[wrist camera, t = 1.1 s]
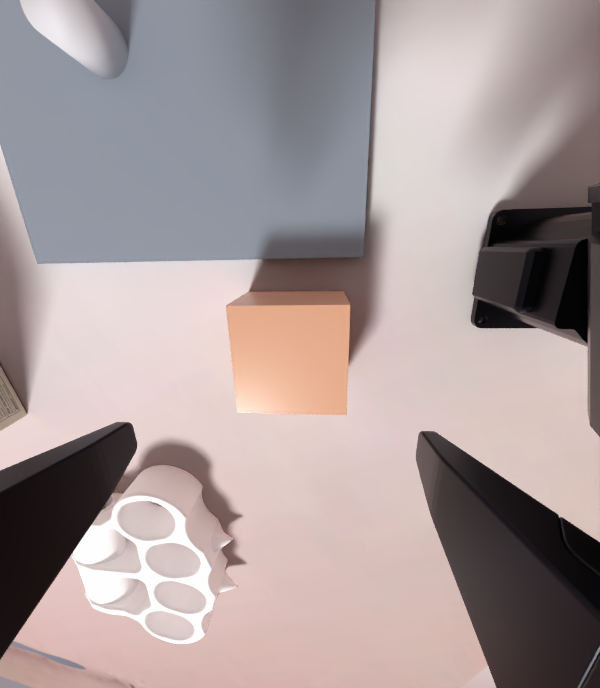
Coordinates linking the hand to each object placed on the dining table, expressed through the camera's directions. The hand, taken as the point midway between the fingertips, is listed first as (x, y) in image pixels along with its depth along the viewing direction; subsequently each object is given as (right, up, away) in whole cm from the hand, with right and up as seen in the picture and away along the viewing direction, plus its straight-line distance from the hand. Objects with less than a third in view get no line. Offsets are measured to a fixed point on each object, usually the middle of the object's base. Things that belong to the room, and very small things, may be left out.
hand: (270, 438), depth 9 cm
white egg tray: (-12, -15, +18) cm, 26 cm away
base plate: (-6, +16, +6) cm, 18 cm away
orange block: (+1, +3, +10) cm, 11 cm away
